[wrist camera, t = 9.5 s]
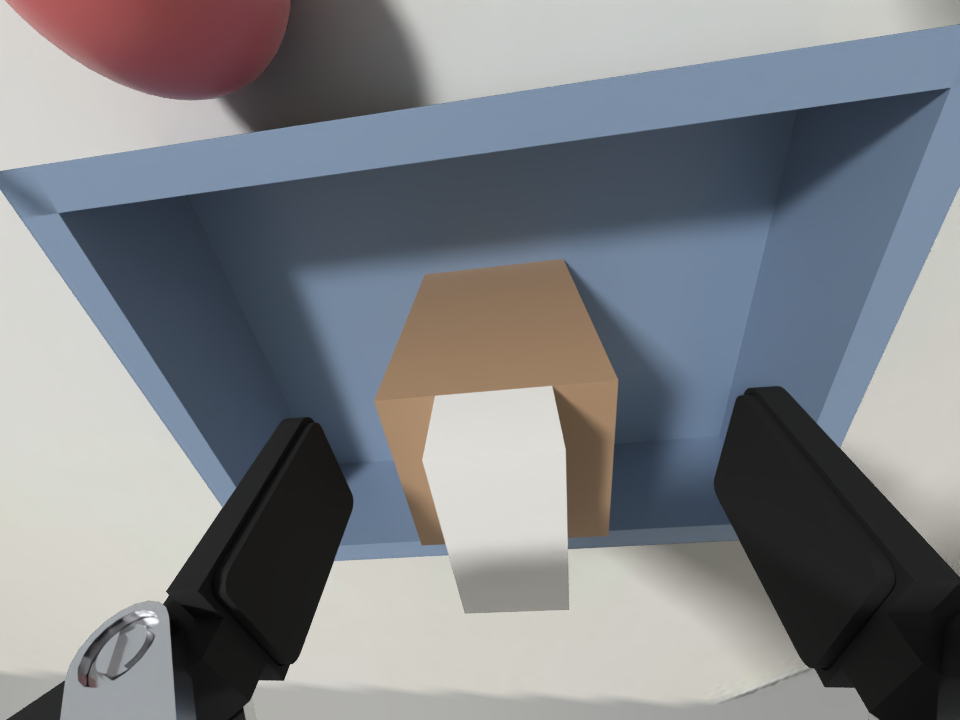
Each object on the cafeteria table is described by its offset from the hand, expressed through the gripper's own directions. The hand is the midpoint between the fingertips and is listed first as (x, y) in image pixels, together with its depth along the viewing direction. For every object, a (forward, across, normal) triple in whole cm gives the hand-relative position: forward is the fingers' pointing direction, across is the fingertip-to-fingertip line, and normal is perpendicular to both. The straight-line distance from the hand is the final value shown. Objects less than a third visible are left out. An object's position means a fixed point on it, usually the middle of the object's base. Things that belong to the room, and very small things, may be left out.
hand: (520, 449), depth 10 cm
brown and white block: (+7, +1, +1) cm, 7 cm away
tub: (+8, +1, +1) cm, 8 cm away
